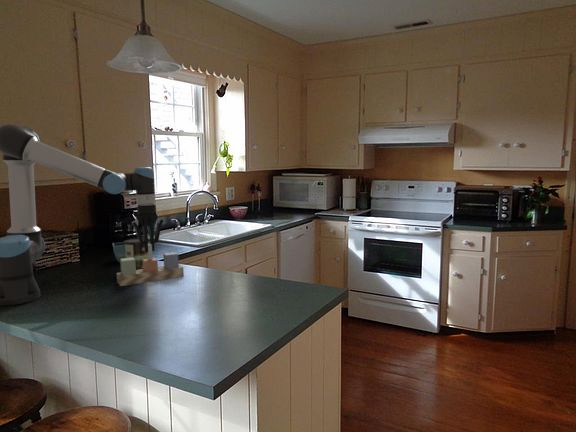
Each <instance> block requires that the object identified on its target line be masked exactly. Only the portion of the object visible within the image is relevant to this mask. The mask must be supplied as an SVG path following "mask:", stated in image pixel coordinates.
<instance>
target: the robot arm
mask: <svg viewBox="0 0 576 432" xmlns="http://www.w3.org/2000/svg"><path fill="white" fill-rule="evenodd" d="M0 153H1V154H2V162H4V163H5V164H6V166H7V171H8V173H7V174H8V175H7V176H8V188H9V189H8V190H9V191H8V192H9V207H10V208H9V209H10V227H9V228H8V229H7V230H6V235H5V236H2V237H0V306H1V307H2V306H16V305H22V304H26V303H30V302H32V301H35V300H37V299H39V298H40V297H41V296H42V295H41V289H40V288H39V285H38V283H37V281H36V278H35V277H34V271H33V263H34V262H36V261H38V260H39V259H40V258H41V256H42V255H43V254H44V251H45V250H46V243H45V239H44V238H43V237H42V229H41V227H39V226H38V225H37V208H36V207H37V206H36V190H35V189H36V188H35V169H34V166H35V164H38V165H42V166H44V167H46V168H49V169H51V170H54V171H57V172H59V173H61V174H64V175H67V176H69V177H72V178H74V179H77V180H79V181H82V182H84V183H87V184H89V185H92V186H95V187H97V188H99V189H101V190H104V191H105V192H107V193H109V194H111V195H117V194H121V193H122V192H128V191H129V192H130V191H135V194H136V196H135V197H136V204H137V206H136V209H137V217H136V219H135V220H134V221H131V225H132V226H133V227H134V229H135V230H134V231H135V232H136V233H135V234H136V236H137V239H139V242H140V243H141V244H144V249H145V252H147V257H148V260H153V258H154V257H153V252H155V244H156V243H159V240H160V235H161V234H160V233H161V228H162V224H163V223H164V220H163V219H162V218H159V216H158V215H157V205H156V202H157V200H156V188H155V186H156V185H155V175H154V173H155V172H154V169H153V168H152V167H149V166H147V167H146V166H145V167H135V168H134V171H133V172H114V171H111V170H109V169H107V168H104V167H101V166H99V165H97V164H94V163H92V162H89V161H87V160H85V159H83V158H80V157H77V156H76V155H74V154H70V153H68V152H66V151H63V150H60V149H59V148H56V147H55V146H54V147H53V146H51V145H49V144H46V143H44V142H41V140H40V138H39V135H38V134H37V133H36V132H35V131H34V130H33V129H31V128H29V127H27V126H23V125H17V124H12V123H6V124H3V125H1V126H0ZM155 223H156V226H155ZM139 224H140V225H141V226H142V234H141V231H140V228H139V227H140V226H139ZM154 226H155V227H156V228H155V233H154ZM148 232H149V236H148ZM143 239H144V241H143Z"/></svg>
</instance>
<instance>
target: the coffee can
mask: <svg viewBox="0 0 576 432" xmlns="http://www.w3.org/2000/svg"><path fill="white" fill-rule="evenodd" d="M142 239H143V241H144V238H142ZM123 242H124V243H125V254H126V258H131V257H133V258H134V259H135V264H136V270H141V269H143V259H148V257H147V252H145V249H144V244H141V243H140V242H139V239H138V238H130V239H127V240H126V239H125V240H124V241H123Z"/></svg>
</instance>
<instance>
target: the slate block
mask: <svg viewBox="0 0 576 432" xmlns="http://www.w3.org/2000/svg"><path fill="white" fill-rule="evenodd" d="M162 254H163V266H164V268H166V269H172V268H179V265H180V263H179V254H178V252H176V251H172V252H164V253H162Z"/></svg>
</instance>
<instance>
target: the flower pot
mask: <svg viewBox="0 0 576 432" xmlns="http://www.w3.org/2000/svg"><path fill="white" fill-rule="evenodd" d="M112 248H113V255H114V257H115V259H116V261H117V262H118V263H120V259H123V258H126V254H125V243H124V241H123V242H112Z"/></svg>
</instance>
